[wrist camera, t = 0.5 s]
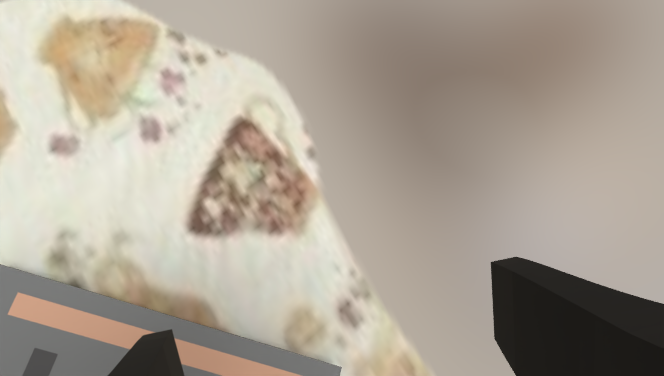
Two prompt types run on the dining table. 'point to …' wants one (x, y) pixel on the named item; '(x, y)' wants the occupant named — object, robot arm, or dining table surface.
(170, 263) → the dining table surface
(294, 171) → the dining table surface
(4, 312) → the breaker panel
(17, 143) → the dining table surface
